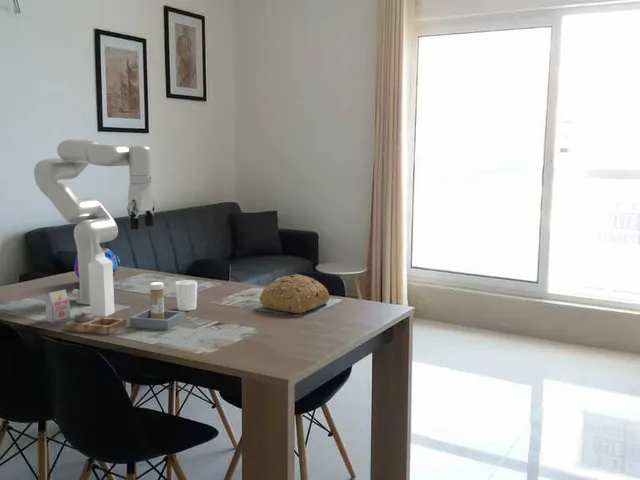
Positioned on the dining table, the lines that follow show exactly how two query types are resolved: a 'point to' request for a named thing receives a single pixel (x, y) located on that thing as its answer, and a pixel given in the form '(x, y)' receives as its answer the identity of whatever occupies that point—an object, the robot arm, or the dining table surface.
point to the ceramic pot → (108, 255)
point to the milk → (101, 286)
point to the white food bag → (57, 306)
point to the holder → (95, 324)
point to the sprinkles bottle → (157, 300)
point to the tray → (157, 320)
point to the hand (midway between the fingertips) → (142, 227)
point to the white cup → (186, 294)
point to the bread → (294, 294)
